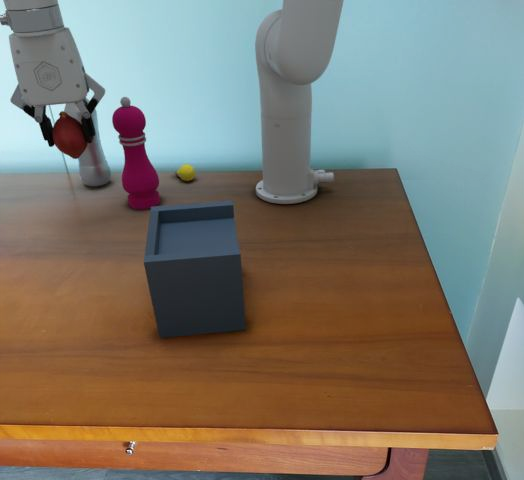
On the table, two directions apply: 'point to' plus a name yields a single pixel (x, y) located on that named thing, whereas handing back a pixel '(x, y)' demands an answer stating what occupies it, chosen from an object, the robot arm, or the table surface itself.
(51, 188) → the table surface
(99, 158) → the plastic bottle
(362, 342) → the table surface
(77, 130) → the onion
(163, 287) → the blue storage bin
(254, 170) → the table surface
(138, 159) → the pepper mill
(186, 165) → the yellow rounded piece
